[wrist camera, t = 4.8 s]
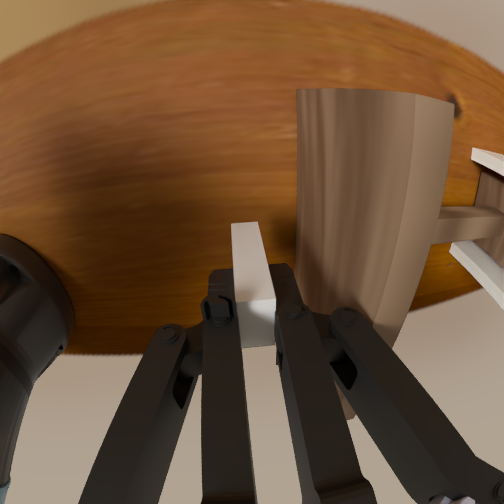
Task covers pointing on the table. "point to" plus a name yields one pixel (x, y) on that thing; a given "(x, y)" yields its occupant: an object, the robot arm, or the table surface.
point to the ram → (378, 202)
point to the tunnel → (473, 255)
